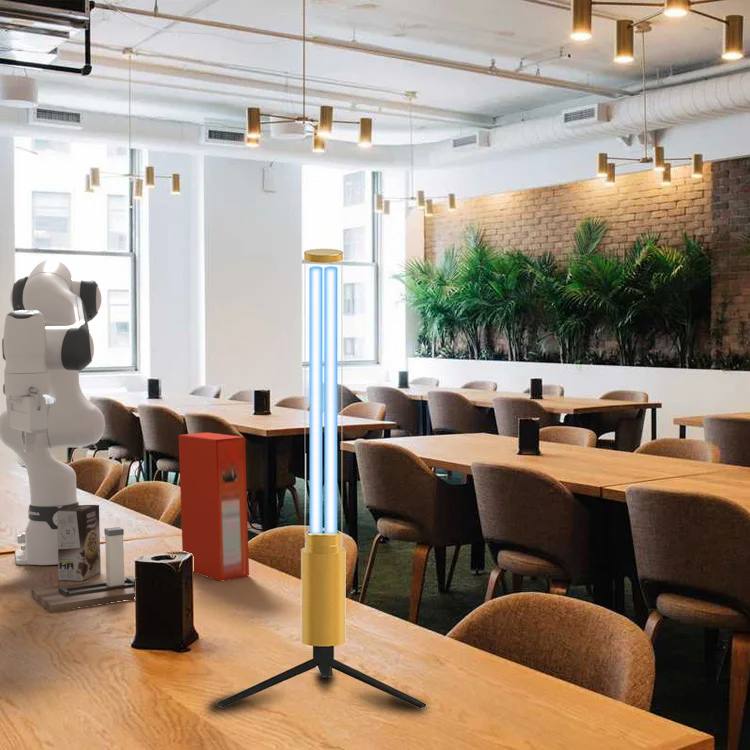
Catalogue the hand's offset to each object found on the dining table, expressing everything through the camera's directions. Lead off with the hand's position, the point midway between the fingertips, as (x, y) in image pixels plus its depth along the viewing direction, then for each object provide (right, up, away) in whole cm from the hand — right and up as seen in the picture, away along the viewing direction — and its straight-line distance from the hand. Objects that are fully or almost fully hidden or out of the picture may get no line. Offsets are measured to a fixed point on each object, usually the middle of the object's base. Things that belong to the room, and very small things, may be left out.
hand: (28, 451), depth 222 cm
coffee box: (+5, -31, +20) cm, 37 cm away
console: (+14, -31, +1) cm, 34 cm away
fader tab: (+18, -29, +3) cm, 34 cm away
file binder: (+36, -30, +22) cm, 52 cm away
